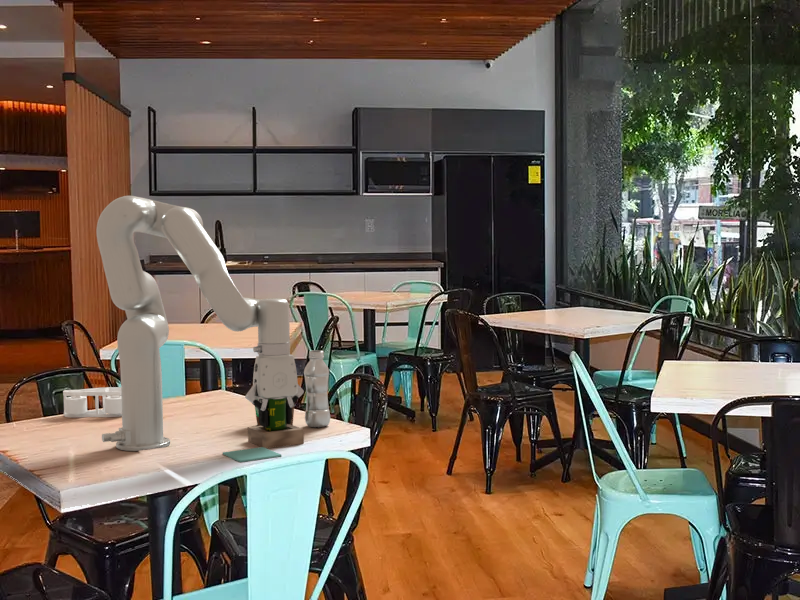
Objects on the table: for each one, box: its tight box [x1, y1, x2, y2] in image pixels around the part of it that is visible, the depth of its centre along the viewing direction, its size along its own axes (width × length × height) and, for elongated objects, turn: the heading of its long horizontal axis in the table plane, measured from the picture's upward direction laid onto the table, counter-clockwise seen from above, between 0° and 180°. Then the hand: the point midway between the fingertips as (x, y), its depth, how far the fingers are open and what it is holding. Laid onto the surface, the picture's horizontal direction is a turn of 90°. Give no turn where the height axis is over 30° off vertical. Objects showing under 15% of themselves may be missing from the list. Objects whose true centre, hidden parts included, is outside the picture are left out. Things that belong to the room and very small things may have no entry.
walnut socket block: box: [247, 424, 305, 449], centre depth 232 cm, size 10×10×4 cm
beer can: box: [264, 397, 287, 432], centre depth 231 cm, size 5×5×12 cm
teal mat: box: [222, 446, 282, 463], centre depth 218 cm, size 10×10×1 cm
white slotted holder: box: [62, 386, 122, 418], centre depth 270 cm, size 20×11×7 cm, turn 89°
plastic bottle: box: [303, 349, 331, 428], centre depth 250 cm, size 6×7×20 cm
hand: (275, 424), depth 232 cm, fingers closed on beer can, 5 cm apart
